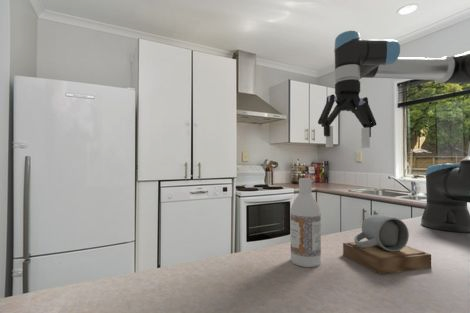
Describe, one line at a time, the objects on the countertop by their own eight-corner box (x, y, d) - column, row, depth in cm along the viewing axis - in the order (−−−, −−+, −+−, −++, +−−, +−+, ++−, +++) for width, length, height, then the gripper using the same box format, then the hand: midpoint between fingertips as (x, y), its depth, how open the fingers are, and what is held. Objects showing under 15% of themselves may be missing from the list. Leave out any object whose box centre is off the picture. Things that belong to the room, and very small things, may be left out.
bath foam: (285, 258, 63) (285, 177, 64) (308, 255, 65) (308, 177, 66) (301, 270, 57) (301, 179, 57) (327, 265, 59) (326, 179, 59)
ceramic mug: (386, 240, 67) (385, 211, 67) (410, 251, 59) (409, 217, 59) (347, 242, 66) (346, 212, 66) (366, 253, 58) (365, 219, 58)
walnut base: (387, 250, 69) (387, 237, 70) (431, 267, 58) (431, 253, 58) (343, 254, 66) (343, 241, 66) (380, 274, 54) (380, 258, 54)
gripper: (370, 88, 89) (371, 148, 89) (306, 82, 83) (307, 147, 83) (388, 81, 82) (389, 147, 82) (319, 74, 76) (320, 145, 75)
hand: (347, 147), depth 82 cm, fingers open, 13 cm apart
